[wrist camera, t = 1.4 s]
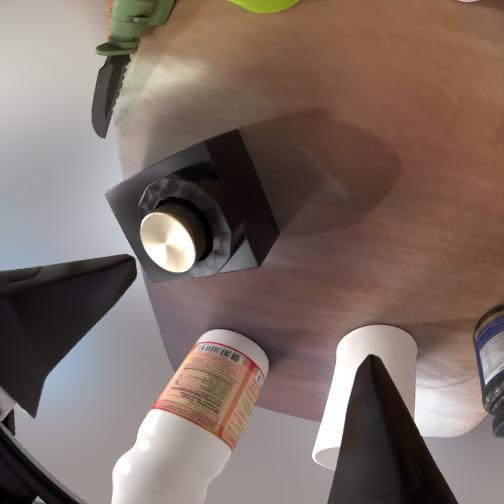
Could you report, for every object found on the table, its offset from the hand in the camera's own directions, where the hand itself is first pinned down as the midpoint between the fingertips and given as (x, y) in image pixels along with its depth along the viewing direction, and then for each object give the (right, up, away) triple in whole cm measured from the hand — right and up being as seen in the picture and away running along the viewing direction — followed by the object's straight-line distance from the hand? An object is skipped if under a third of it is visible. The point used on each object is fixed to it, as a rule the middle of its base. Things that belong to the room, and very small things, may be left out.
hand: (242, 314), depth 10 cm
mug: (+13, -9, +18) cm, 24 cm away
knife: (-12, +16, +6) cm, 21 cm away
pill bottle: (+24, -5, +10) cm, 26 cm away
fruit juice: (-2, -10, +25) cm, 27 cm away
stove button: (-4, +4, +8) cm, 10 cm away
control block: (-4, +6, +15) cm, 17 cm away
